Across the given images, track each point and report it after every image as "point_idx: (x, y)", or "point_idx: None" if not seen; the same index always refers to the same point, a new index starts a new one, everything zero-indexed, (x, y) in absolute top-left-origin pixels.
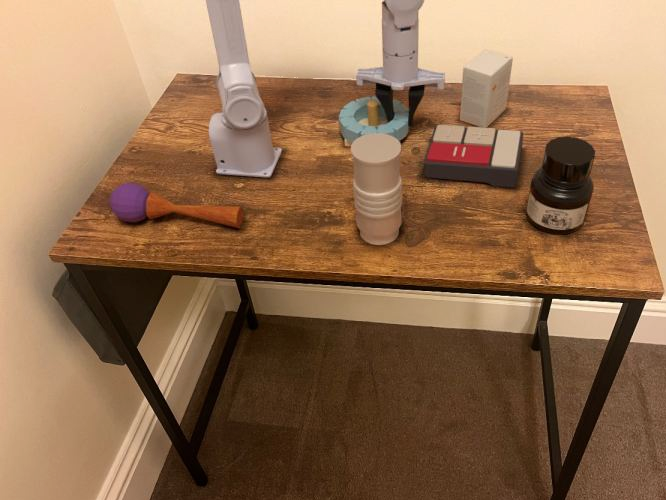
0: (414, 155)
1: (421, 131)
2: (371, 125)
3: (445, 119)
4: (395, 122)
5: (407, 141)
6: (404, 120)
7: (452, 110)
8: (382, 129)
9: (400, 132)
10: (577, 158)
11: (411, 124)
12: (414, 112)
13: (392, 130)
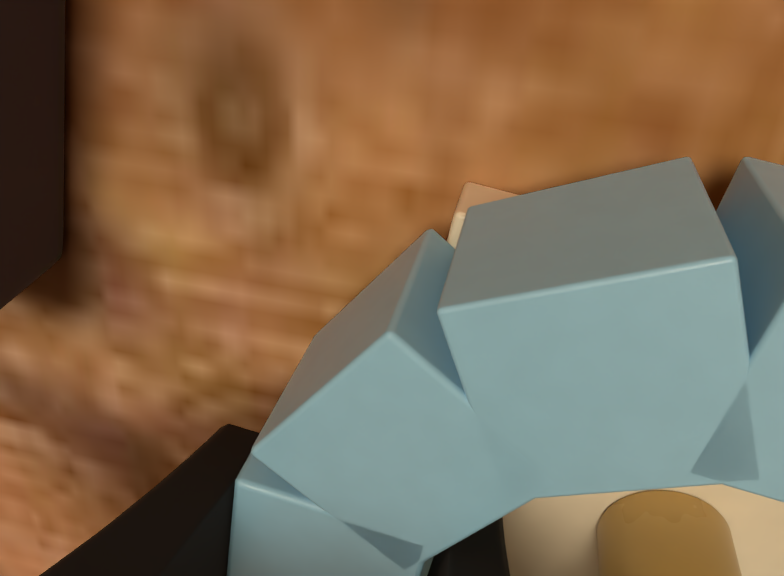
0: (251, 34)
1: (204, 408)
2: (714, 554)
3: (42, 495)
4: (401, 495)
5: (328, 299)
6: (278, 503)
7: (16, 563)
8: (637, 393)
9: (357, 330)
10: None
11: (212, 437)
12: (49, 570)
13: (466, 333)
